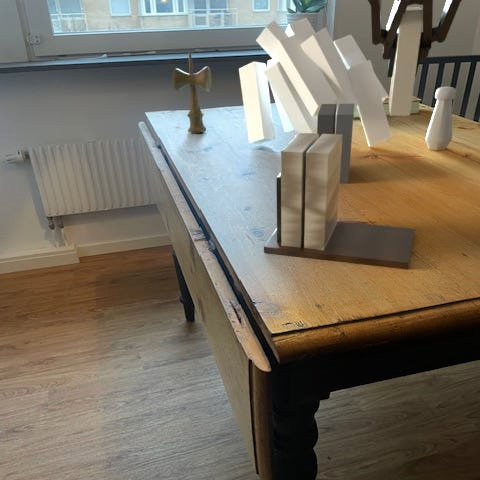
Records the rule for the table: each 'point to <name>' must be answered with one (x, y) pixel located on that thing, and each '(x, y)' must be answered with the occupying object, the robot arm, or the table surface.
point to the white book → (405, 62)
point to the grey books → (338, 131)
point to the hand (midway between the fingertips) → (402, 69)
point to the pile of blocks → (310, 82)
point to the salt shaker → (441, 120)
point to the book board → (358, 245)
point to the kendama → (193, 92)
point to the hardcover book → (386, 107)
